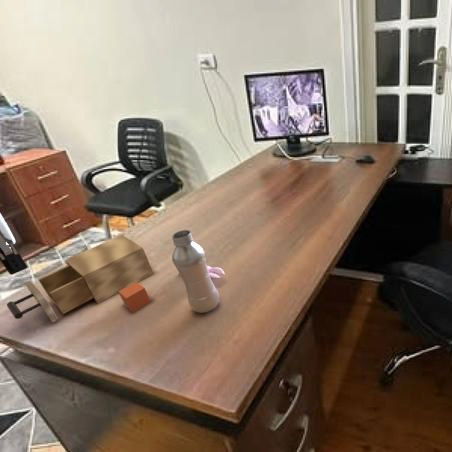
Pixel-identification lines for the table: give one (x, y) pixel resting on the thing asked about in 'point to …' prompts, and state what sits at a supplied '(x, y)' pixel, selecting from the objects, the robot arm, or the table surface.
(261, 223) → the table surface
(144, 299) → the block
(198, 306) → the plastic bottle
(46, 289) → the drawer
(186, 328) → the table surface
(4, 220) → the robot arm
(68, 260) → the cabinet
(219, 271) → the rabbit figure
